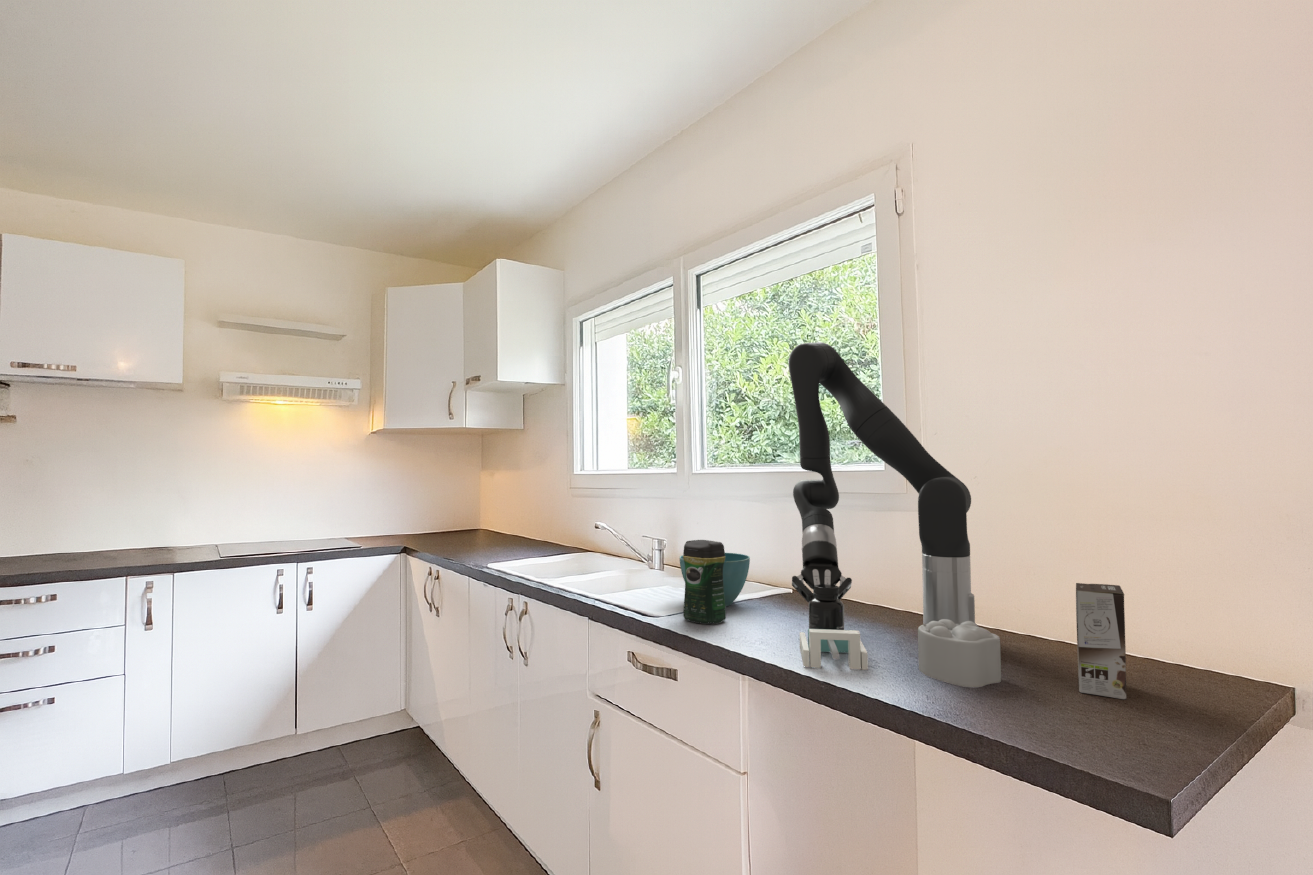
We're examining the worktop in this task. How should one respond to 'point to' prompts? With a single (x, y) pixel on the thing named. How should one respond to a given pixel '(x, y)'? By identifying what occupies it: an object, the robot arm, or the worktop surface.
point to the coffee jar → (704, 581)
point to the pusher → (833, 646)
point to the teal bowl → (730, 574)
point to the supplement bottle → (826, 608)
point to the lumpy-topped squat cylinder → (959, 653)
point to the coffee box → (1101, 640)
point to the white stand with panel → (855, 646)
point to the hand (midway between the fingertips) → (823, 618)
